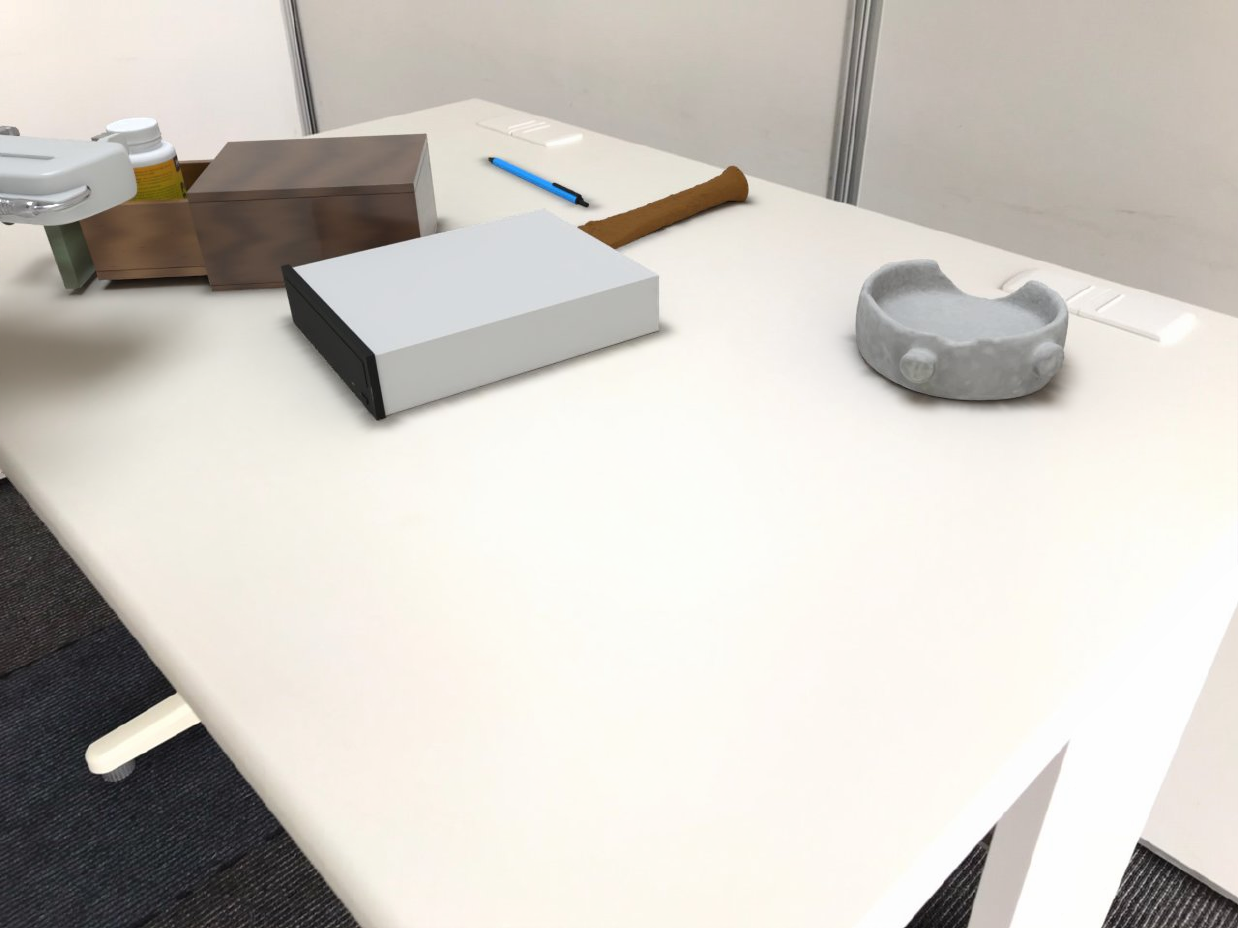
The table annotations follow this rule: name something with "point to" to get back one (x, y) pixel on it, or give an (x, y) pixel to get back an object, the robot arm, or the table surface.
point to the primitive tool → (669, 209)
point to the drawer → (131, 239)
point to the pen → (540, 182)
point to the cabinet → (308, 203)
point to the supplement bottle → (151, 160)
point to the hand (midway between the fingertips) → (65, 140)
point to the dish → (959, 334)
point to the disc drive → (468, 307)
